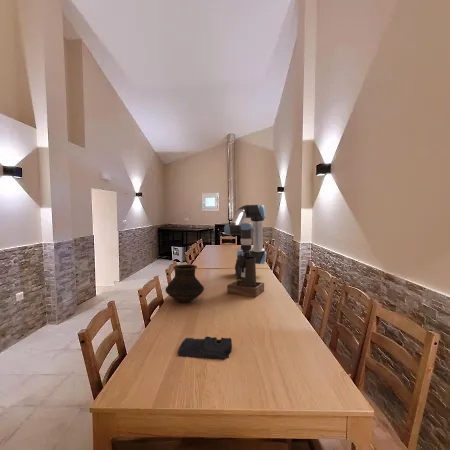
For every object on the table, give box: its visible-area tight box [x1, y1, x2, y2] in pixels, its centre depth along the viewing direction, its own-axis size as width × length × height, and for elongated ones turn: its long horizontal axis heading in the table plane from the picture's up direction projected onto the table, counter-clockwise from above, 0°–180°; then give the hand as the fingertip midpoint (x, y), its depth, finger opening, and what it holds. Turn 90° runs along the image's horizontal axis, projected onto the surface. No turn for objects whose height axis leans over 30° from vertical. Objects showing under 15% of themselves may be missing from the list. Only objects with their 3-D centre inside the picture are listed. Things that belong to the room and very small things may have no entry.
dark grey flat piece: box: [177, 336, 233, 361], centre depth 120 cm, size 15×22×5 cm
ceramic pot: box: [165, 264, 205, 303], centre depth 185 cm, size 24×24×22 cm
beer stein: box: [234, 257, 257, 287], centre depth 203 cm, size 15×11×20 cm
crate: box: [226, 279, 265, 298], centre depth 205 cm, size 17×21×6 cm
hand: (245, 275), depth 204 cm, fingers closed on beer stein, 9 cm apart
